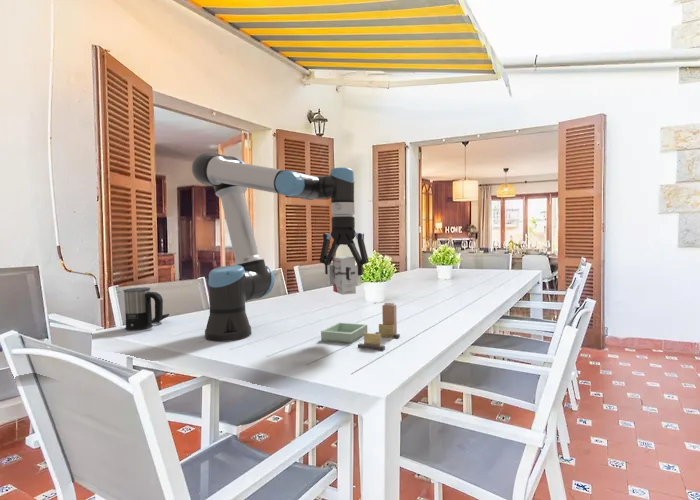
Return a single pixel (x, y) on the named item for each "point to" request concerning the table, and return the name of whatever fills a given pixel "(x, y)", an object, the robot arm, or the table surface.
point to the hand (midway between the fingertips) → (344, 284)
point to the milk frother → (142, 308)
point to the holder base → (375, 347)
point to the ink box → (344, 275)
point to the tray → (344, 332)
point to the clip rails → (384, 331)
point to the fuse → (390, 315)
